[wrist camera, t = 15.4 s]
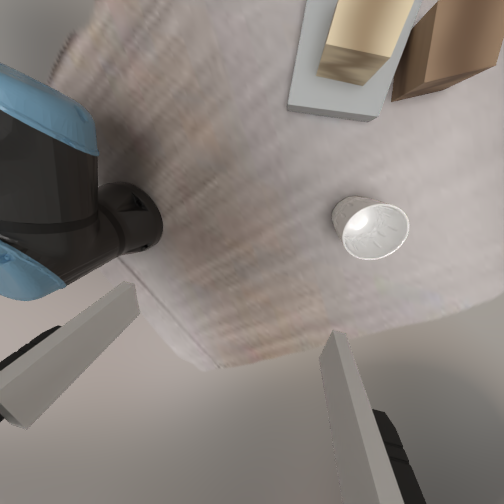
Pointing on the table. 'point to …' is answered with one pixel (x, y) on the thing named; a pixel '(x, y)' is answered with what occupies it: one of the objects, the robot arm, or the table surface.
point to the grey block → (332, 91)
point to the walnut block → (449, 46)
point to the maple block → (362, 38)
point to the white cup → (369, 227)
